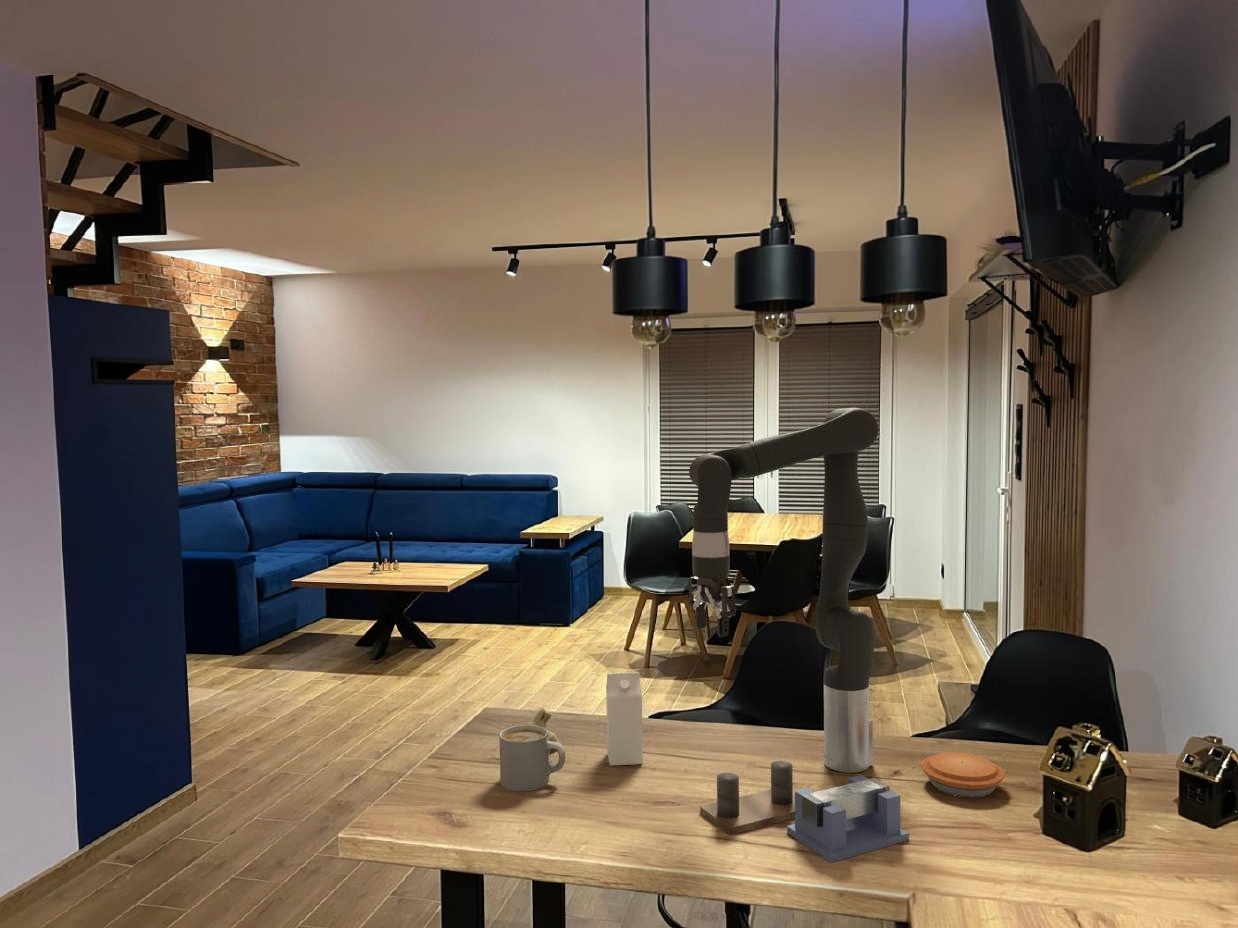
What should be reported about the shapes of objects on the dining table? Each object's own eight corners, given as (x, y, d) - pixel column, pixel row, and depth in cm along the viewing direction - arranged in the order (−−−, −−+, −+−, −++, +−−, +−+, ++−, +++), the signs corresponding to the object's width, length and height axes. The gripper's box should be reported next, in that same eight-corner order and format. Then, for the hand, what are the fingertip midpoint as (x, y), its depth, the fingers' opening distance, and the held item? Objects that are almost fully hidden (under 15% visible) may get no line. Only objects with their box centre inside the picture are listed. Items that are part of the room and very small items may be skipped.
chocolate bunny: (525, 747, 199) (524, 703, 198) (560, 745, 200) (559, 702, 199) (525, 756, 193) (524, 711, 193) (561, 754, 194) (560, 709, 194)
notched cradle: (861, 812, 163) (861, 771, 163) (909, 839, 152) (909, 796, 152) (787, 832, 156) (786, 789, 155) (831, 862, 145) (830, 816, 144)
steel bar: (873, 799, 159) (873, 777, 159) (889, 807, 155) (889, 785, 155) (802, 817, 152) (802, 795, 152) (816, 827, 148) (816, 804, 148)
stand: (779, 793, 172) (778, 753, 172) (811, 813, 163) (811, 771, 163) (700, 812, 164) (699, 770, 164) (729, 834, 155) (728, 790, 155)
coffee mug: (491, 787, 177) (490, 738, 176) (513, 768, 186) (512, 722, 186) (552, 796, 172) (551, 746, 172) (572, 776, 182) (571, 729, 181)
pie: (982, 810, 163) (982, 784, 163) (906, 786, 175) (906, 761, 174) (1018, 786, 173) (1018, 762, 173) (944, 764, 185) (944, 741, 185)
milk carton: (607, 753, 194) (605, 668, 193) (639, 752, 195) (638, 667, 194) (609, 766, 187) (608, 678, 186) (642, 764, 187) (641, 676, 187)
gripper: (746, 556, 174) (746, 637, 174) (708, 547, 186) (709, 622, 187) (713, 559, 170) (714, 641, 171) (677, 550, 183) (678, 626, 184)
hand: (711, 631), depth 179 cm, fingers open, 8 cm apart
